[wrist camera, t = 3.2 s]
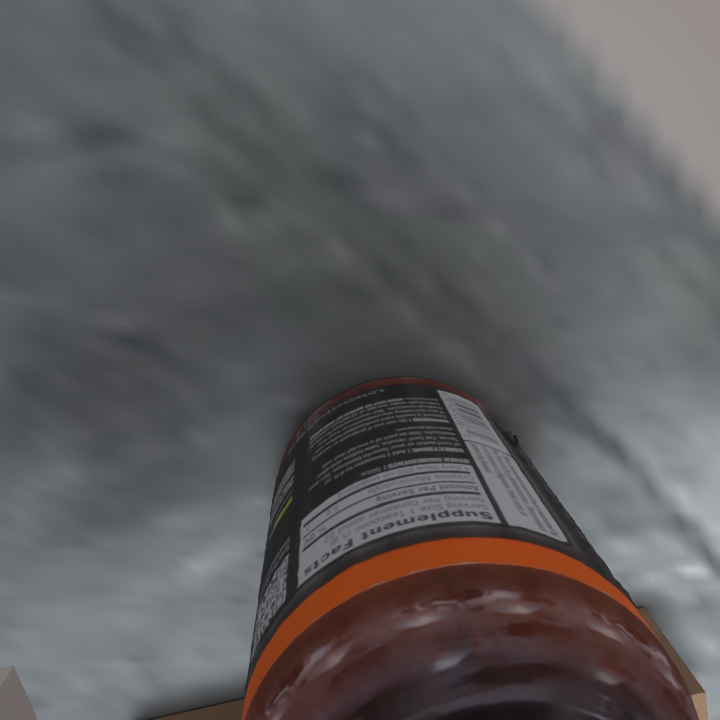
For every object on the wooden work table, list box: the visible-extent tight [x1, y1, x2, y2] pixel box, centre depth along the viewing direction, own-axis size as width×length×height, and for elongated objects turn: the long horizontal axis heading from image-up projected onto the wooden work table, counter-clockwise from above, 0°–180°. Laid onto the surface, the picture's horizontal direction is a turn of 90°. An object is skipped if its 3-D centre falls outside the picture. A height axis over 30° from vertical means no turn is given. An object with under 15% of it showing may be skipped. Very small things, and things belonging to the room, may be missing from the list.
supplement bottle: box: [242, 377, 699, 720], centre depth 11 cm, size 6×6×11 cm
